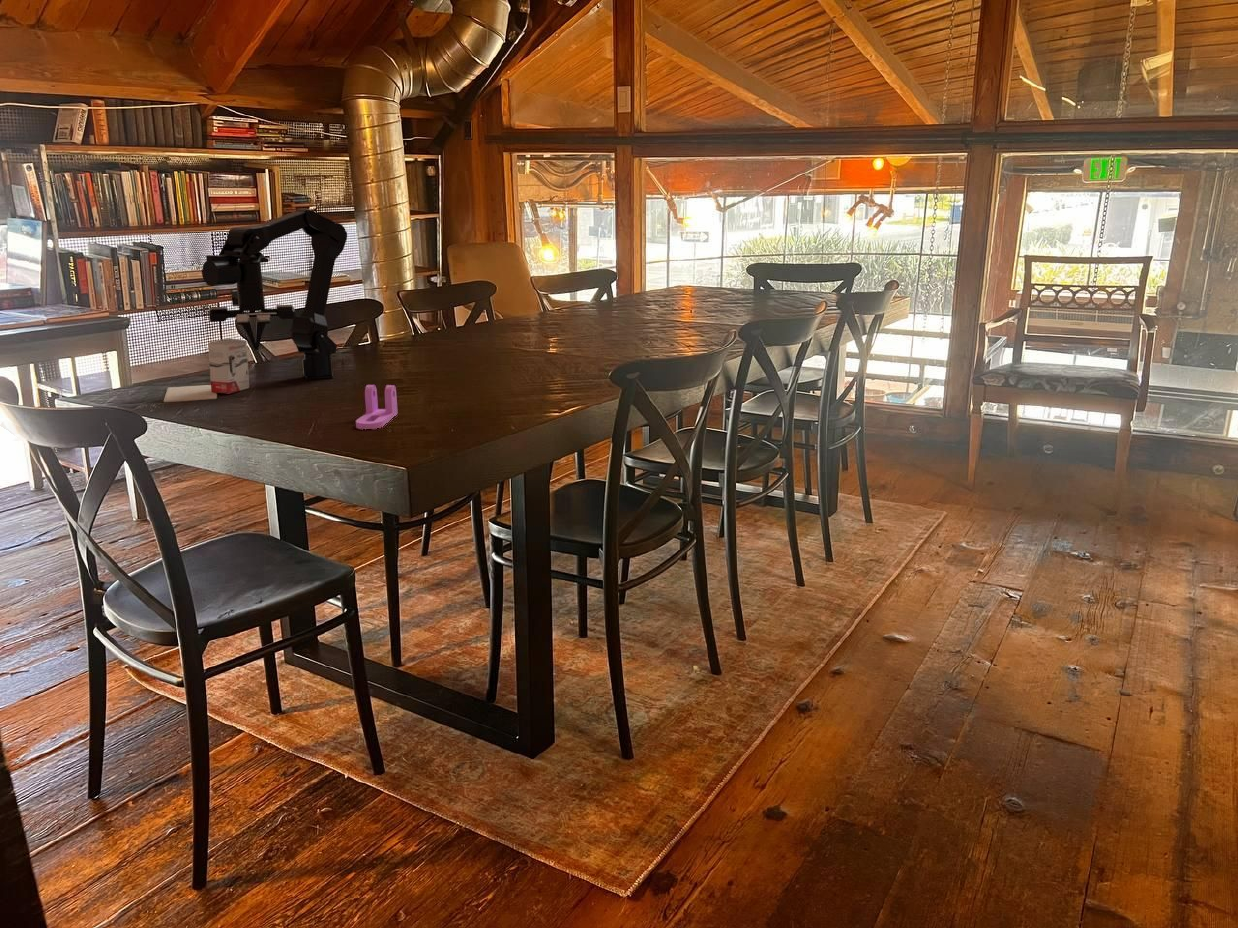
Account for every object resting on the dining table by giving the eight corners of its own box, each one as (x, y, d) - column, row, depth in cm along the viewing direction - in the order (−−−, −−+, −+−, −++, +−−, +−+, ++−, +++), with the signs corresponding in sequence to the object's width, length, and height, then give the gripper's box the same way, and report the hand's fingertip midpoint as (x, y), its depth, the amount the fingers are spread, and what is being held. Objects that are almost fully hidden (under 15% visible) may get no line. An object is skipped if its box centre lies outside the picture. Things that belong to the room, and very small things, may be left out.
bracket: (372, 415, 199) (369, 383, 197) (397, 415, 199) (395, 383, 197) (352, 430, 186) (349, 396, 184) (379, 430, 186) (377, 396, 184)
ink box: (229, 394, 216) (225, 344, 213) (210, 392, 217) (206, 342, 214) (250, 388, 224) (247, 339, 221) (232, 386, 225) (229, 337, 222)
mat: (217, 385, 227) (217, 384, 227) (216, 398, 213) (216, 397, 212) (168, 388, 223) (168, 387, 223) (163, 402, 209) (163, 401, 209)
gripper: (289, 279, 227) (295, 342, 231) (206, 281, 220) (214, 346, 224) (292, 283, 217) (298, 349, 221) (205, 285, 210) (213, 354, 214)
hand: (256, 349), depth 220 cm, fingers closed
